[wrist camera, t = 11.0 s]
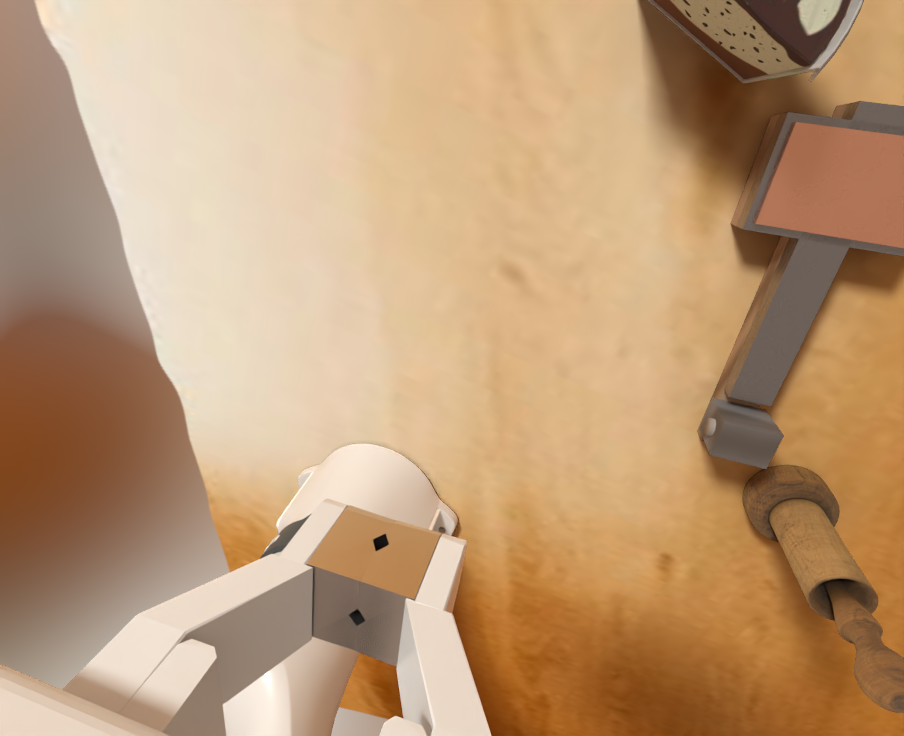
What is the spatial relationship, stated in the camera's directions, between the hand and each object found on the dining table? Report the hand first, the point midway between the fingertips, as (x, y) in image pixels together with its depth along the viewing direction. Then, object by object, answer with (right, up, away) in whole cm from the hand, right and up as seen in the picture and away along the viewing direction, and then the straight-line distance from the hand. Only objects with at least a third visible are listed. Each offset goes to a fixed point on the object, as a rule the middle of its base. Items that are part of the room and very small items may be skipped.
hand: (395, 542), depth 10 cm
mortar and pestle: (+30, -8, +32) cm, 45 cm away
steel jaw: (+25, +10, +24) cm, 36 cm away
